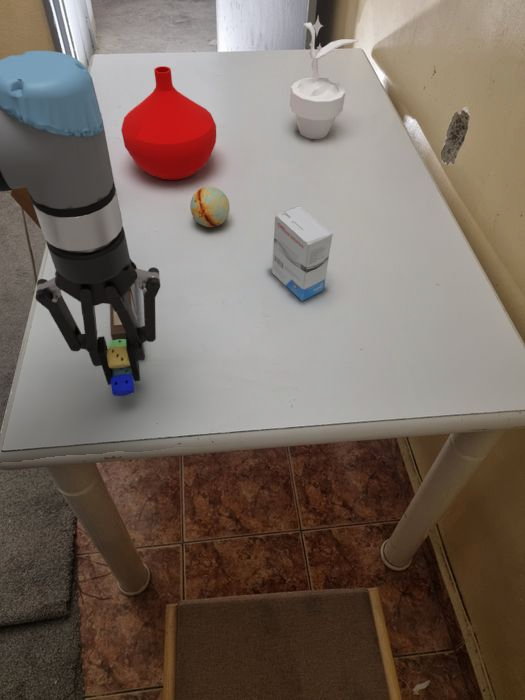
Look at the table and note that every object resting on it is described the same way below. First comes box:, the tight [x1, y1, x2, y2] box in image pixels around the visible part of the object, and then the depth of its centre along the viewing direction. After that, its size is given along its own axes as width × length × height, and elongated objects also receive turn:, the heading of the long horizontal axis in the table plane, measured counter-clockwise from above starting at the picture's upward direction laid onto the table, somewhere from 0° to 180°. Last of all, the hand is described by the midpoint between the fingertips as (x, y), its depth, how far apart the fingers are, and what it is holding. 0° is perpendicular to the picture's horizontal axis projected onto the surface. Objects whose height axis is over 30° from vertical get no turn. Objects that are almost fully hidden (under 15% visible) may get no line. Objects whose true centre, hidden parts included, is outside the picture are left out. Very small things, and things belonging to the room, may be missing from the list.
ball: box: [189, 186, 231, 228], centre depth 93 cm, size 7×7×7 cm
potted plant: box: [289, 14, 359, 140], centre depth 108 cm, size 13×12×25 cm
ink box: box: [271, 205, 333, 302], centre depth 82 cm, size 8×5×12 cm, turn 34°
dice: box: [107, 339, 135, 397], centre depth 67 cm, size 8×3×6 cm, turn 11°
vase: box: [121, 65, 217, 181], centre depth 100 cm, size 18×18×19 cm
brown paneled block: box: [109, 281, 138, 341], centre depth 77 cm, size 3×17×6 cm, turn 11°
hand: (123, 374), depth 69 cm, fingers closed on dice, 3 cm apart
